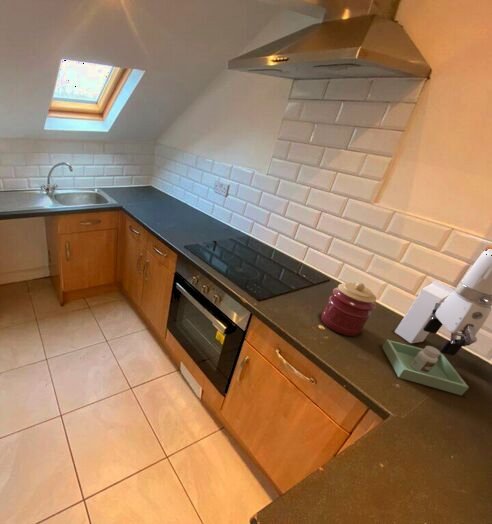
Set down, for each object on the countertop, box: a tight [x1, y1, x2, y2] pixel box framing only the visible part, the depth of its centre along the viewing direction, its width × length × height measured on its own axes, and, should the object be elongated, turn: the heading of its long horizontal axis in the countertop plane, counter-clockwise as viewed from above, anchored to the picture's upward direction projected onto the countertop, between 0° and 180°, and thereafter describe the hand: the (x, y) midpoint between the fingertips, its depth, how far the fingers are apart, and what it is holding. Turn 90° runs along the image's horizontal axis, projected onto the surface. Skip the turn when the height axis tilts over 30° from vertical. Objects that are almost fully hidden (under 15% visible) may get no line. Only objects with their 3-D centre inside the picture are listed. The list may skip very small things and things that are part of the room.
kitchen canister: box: [320, 282, 377, 337], centre depth 104 cm, size 13×13×18 cm
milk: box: [394, 279, 455, 344], centre depth 101 cm, size 6×6×22 cm
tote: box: [381, 339, 470, 396], centre depth 91 cm, size 16×14×3 cm
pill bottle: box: [411, 345, 441, 374], centre depth 90 cm, size 4×4×8 cm
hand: (437, 342), depth 87 cm, fingers open, 9 cm apart
